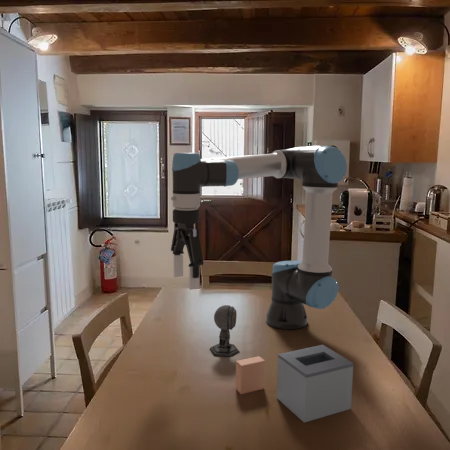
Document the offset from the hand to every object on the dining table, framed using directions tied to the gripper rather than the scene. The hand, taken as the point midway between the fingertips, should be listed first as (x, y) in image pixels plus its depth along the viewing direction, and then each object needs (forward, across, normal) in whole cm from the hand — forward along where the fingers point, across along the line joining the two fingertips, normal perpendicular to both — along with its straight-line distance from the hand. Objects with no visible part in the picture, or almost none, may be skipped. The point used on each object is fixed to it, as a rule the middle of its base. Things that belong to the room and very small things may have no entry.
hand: (186, 282), depth 131 cm
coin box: (+25, +32, +23) cm, 46 cm away
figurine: (+26, -5, +15) cm, 30 cm away
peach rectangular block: (+26, +19, +11) cm, 34 cm away
